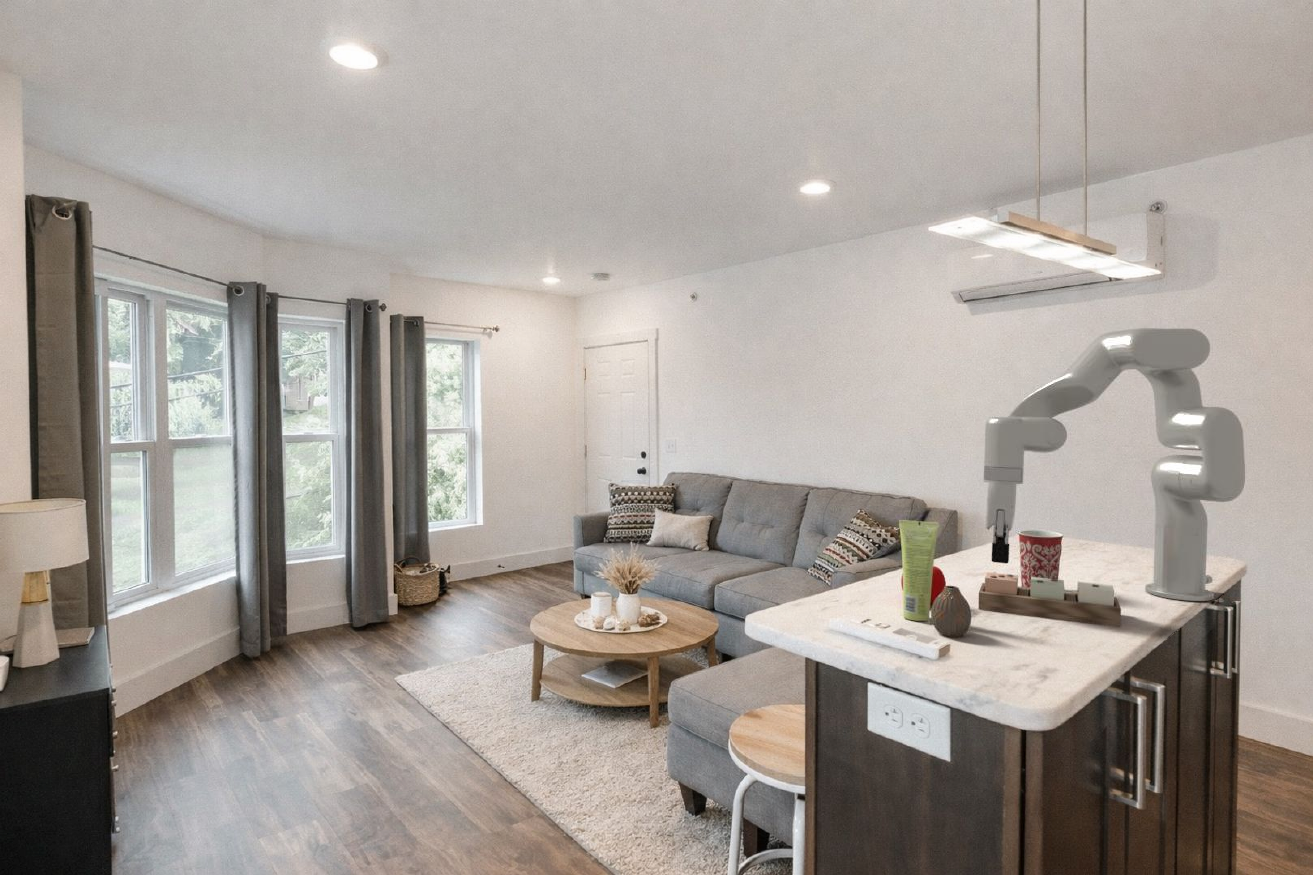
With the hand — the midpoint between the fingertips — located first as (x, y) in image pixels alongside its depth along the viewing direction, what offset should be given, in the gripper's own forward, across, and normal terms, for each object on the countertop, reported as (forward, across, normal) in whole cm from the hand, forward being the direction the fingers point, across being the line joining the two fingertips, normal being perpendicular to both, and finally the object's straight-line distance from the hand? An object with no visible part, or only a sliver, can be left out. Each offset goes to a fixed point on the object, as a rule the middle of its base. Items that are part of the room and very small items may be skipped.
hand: (1000, 561), depth 152 cm
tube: (+10, +18, -14) cm, 25 cm away
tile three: (+6, 0, 0) cm, 6 cm away
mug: (+9, -20, +8) cm, 24 cm away
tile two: (+6, 0, +9) cm, 11 cm away
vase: (+10, +25, -7) cm, 28 cm away
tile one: (+6, 0, +17) cm, 18 cm away
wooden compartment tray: (+9, 0, +9) cm, 13 cm away
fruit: (+10, +5, -14) cm, 18 cm away
